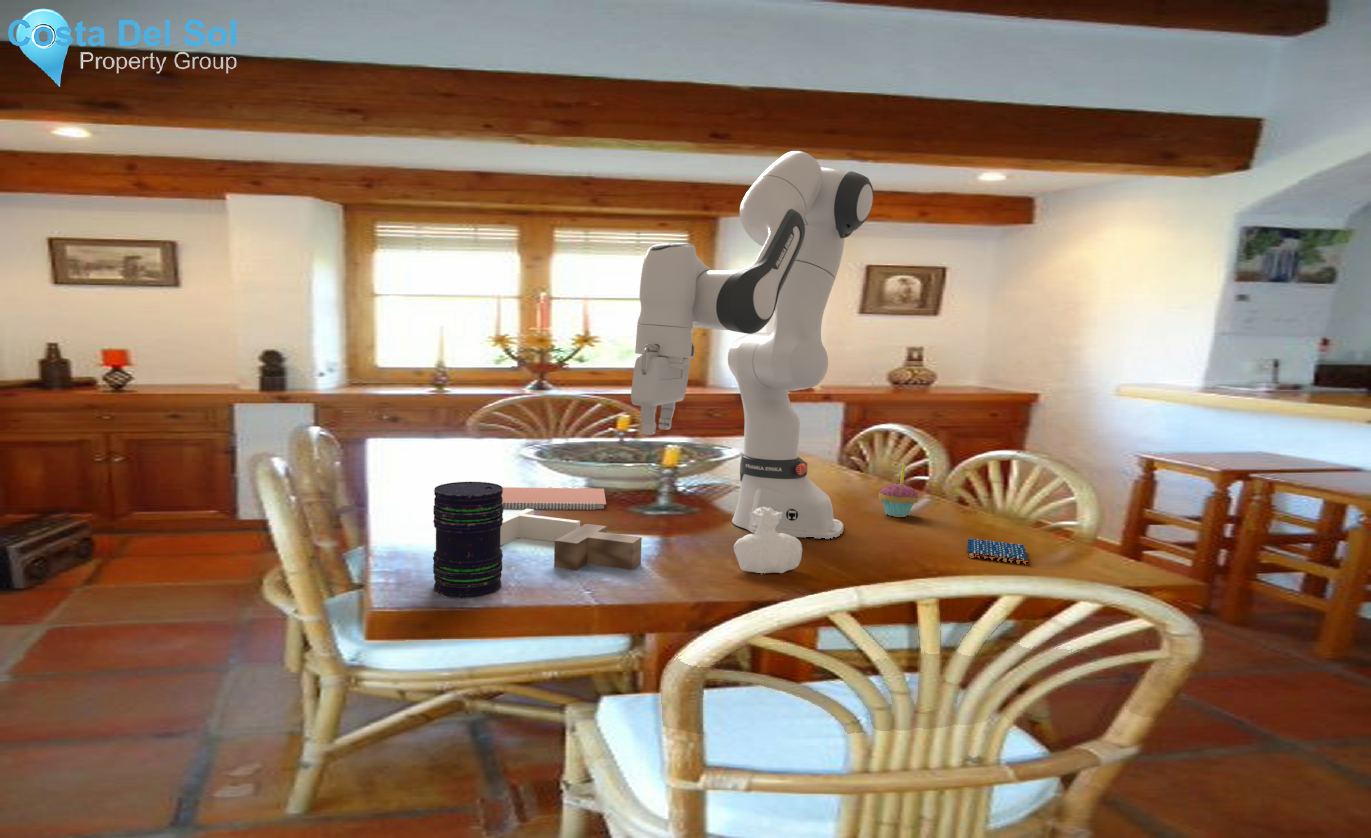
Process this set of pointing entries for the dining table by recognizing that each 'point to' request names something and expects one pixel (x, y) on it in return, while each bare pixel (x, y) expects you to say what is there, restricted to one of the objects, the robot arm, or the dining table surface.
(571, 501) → the notebook
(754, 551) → the bust
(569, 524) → the corner fence
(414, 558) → the dining table surface
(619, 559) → the t block
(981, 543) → the woven mat
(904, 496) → the cupcake
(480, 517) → the rusty oil barrel
